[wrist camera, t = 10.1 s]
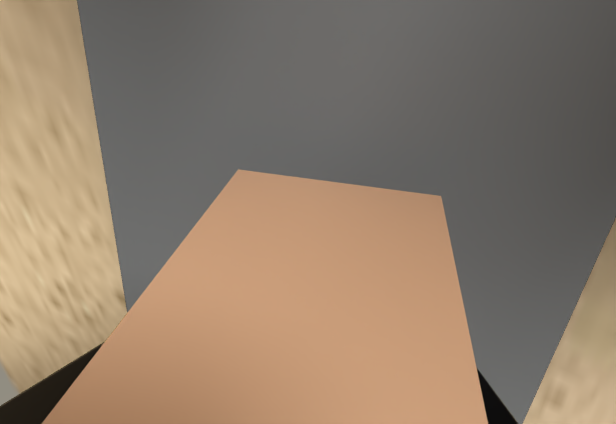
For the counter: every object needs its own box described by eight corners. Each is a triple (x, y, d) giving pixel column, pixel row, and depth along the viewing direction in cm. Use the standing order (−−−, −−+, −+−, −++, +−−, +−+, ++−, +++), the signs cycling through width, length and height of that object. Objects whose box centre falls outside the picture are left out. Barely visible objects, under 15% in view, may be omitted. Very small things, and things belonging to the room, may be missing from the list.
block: (405, 349, 11) (420, 862, 5) (239, 321, 11) (50, 752, 5) (441, 196, 9) (551, 730, 3) (238, 169, 9) (-72, 571, 3)
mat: (515, 421, 14) (517, 433, 13) (141, 352, 15) (135, 361, 15) (711, -24, 8) (724, -24, 8) (77, -71, 9) (65, -72, 9)
